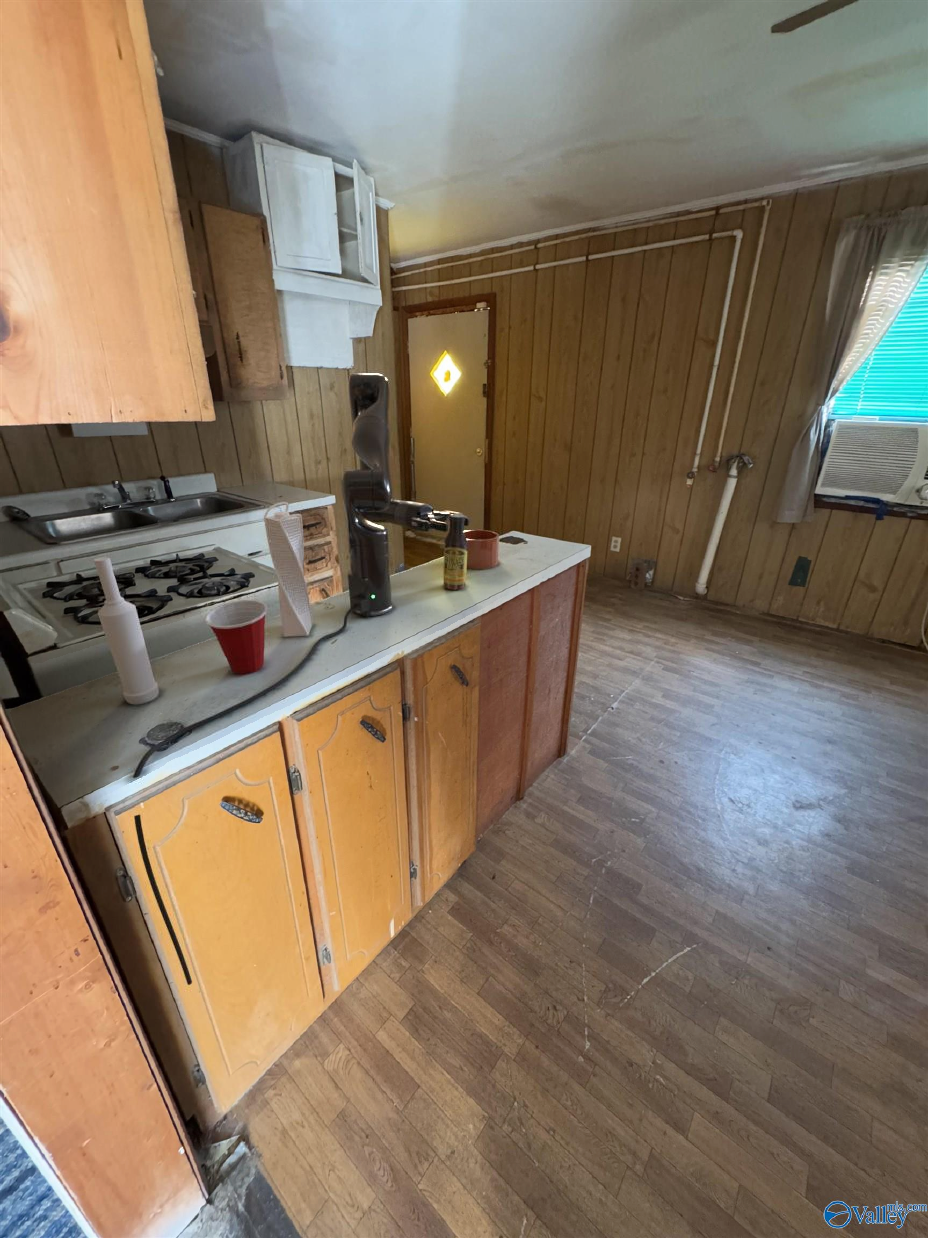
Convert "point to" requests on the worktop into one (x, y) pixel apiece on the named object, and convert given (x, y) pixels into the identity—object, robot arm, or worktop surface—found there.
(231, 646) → the plastic cup
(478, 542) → the crock
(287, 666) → the worktop surface
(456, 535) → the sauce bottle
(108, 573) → the bottle
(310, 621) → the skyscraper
